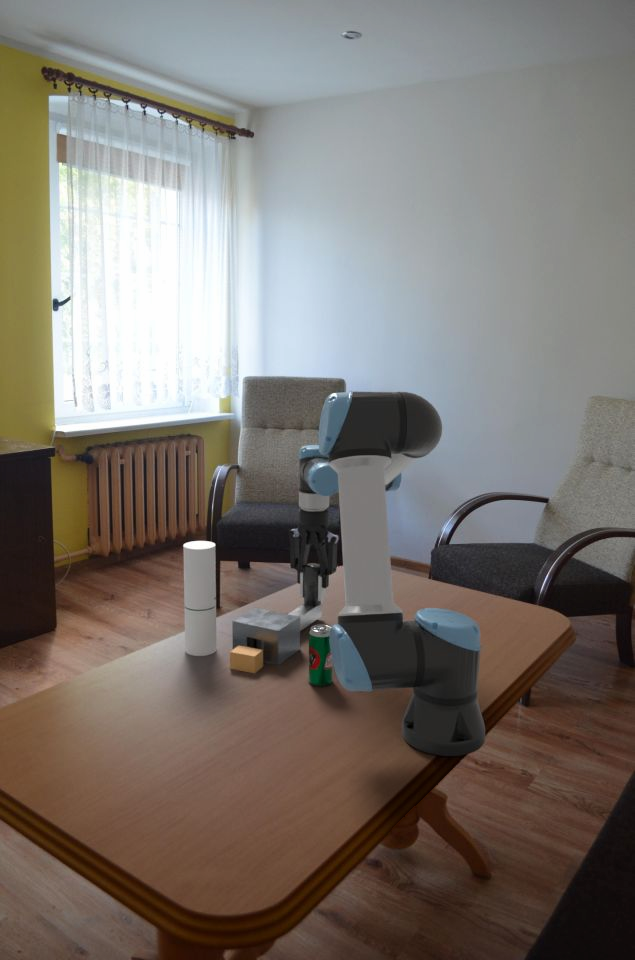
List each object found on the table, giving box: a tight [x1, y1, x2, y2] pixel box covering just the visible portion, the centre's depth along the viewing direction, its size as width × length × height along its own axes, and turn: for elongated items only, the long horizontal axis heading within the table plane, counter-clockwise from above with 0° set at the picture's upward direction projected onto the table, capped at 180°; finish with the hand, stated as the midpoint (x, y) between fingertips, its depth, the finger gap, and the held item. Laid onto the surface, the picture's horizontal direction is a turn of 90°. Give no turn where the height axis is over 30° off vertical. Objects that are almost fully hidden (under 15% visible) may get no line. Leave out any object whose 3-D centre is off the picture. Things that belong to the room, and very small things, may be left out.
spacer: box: [229, 645, 264, 674], centre depth 175 cm, size 4×6×4 cm
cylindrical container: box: [182, 540, 217, 657], centre depth 182 cm, size 7×7×25 cm
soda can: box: [307, 624, 334, 687], centre depth 167 cm, size 5×5×12 cm
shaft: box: [257, 562, 323, 650], centre depth 192 cm, size 26×4×14 cm, turn 153°
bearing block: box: [231, 607, 301, 666], centre depth 183 cm, size 10×12×8 cm
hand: (312, 597), depth 202 cm, fingers closed on shaft, 4 cm apart
